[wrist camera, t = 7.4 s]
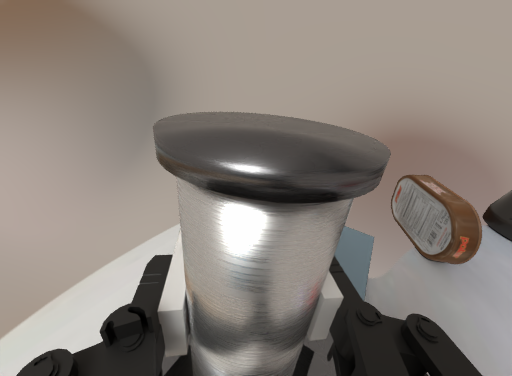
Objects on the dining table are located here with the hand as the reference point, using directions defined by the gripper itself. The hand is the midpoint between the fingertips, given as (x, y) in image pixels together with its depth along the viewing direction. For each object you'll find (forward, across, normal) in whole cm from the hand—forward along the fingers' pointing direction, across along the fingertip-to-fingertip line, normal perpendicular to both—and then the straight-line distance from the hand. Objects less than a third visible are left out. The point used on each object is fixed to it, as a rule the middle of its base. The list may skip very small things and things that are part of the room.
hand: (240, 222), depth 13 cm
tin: (+10, +27, -10) cm, 31 cm away
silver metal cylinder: (-5, 0, -10) cm, 11 cm away
